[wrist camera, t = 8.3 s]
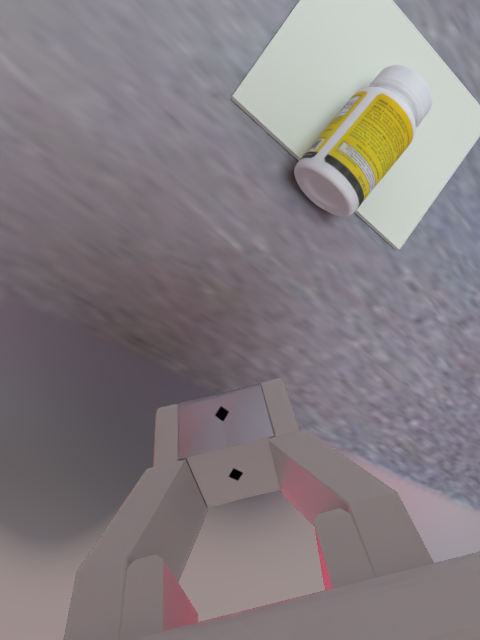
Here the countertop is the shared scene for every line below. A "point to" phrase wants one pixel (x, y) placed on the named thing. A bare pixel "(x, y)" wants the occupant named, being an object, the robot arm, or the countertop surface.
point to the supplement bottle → (364, 141)
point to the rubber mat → (348, 78)
